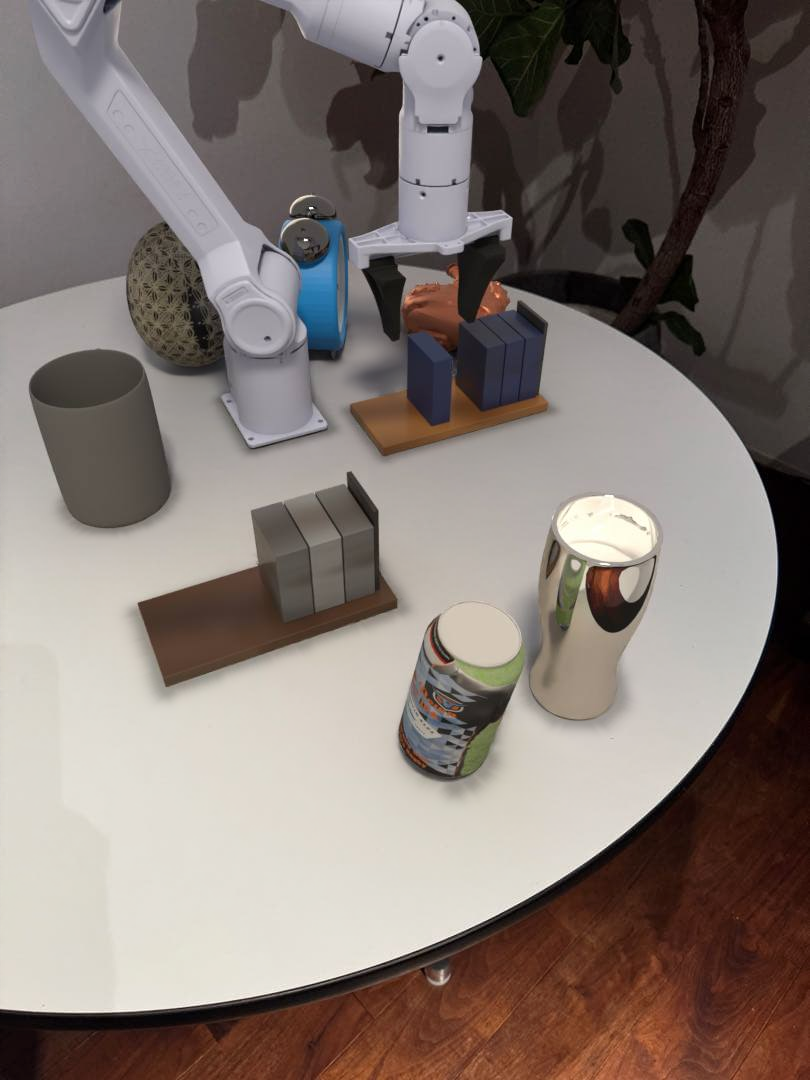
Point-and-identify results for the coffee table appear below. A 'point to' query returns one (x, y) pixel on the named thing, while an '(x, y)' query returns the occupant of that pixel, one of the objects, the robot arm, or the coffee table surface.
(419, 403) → the navy book
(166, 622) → the walnut book board
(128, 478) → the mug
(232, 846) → the coffee table surface
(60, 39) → the robot arm
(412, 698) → the beverage can
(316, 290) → the alarm clock
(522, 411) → the oak book board
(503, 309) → the heart
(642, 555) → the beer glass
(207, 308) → the decorative egg
